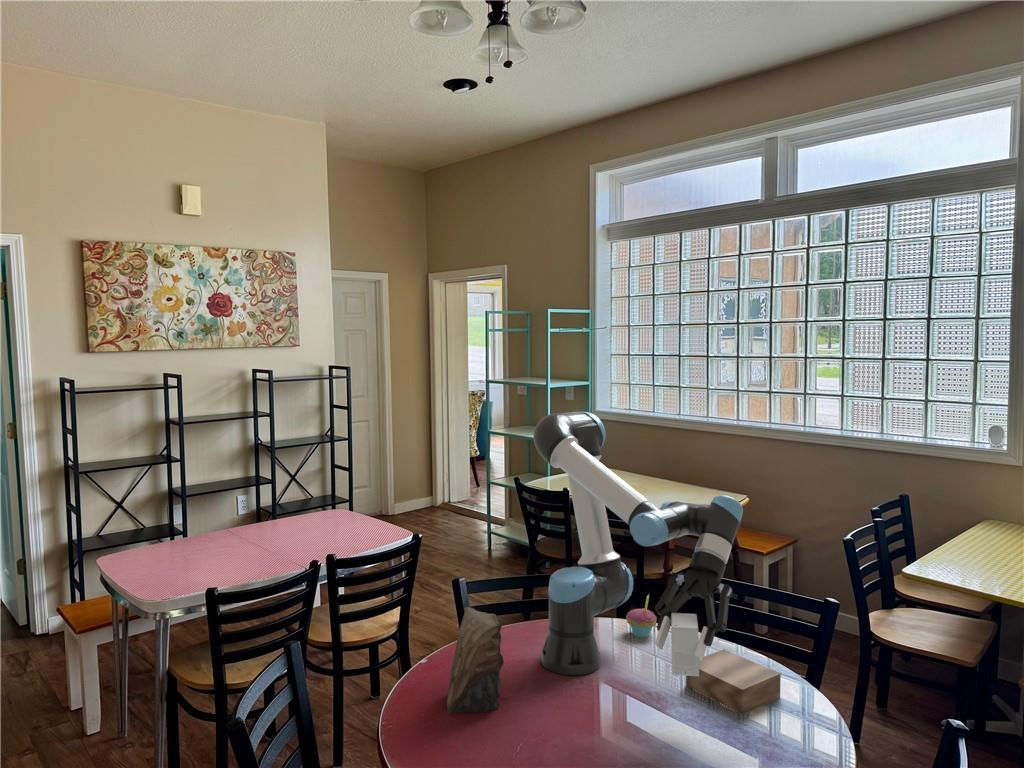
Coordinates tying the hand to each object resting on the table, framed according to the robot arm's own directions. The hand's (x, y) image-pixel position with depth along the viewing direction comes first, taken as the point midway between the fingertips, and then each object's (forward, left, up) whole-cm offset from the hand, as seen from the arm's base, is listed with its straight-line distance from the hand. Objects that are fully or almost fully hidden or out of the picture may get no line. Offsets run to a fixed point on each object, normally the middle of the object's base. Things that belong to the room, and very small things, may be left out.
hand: (677, 652), depth 146 cm
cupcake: (-30, +40, -17) cm, 53 cm away
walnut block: (+3, +24, -17) cm, 29 cm away
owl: (-41, -20, -17) cm, 49 cm away
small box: (0, +3, -5) cm, 6 cm away
